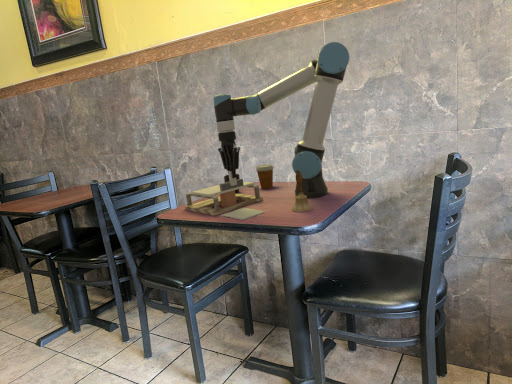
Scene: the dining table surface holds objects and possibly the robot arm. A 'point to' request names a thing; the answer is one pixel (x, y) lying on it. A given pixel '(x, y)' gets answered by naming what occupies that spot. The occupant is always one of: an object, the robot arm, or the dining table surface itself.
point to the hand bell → (301, 197)
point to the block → (228, 198)
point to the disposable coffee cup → (265, 176)
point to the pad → (243, 213)
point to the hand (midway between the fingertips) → (233, 185)
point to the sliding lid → (222, 188)
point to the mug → (226, 179)
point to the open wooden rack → (216, 201)
